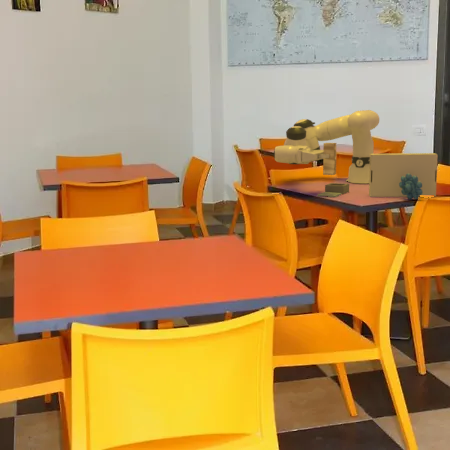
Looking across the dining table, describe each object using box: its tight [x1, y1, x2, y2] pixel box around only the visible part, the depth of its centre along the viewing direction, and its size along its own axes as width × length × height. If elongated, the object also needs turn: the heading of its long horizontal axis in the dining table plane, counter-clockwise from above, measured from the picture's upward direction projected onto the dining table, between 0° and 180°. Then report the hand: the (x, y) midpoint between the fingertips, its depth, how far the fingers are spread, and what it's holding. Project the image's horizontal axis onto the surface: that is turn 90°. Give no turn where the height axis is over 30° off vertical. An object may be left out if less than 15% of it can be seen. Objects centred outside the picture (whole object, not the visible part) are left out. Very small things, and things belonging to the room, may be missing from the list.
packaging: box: [368, 152, 439, 198], centre depth 319 cm, size 30×6×20 cm, turn 84°
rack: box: [324, 182, 350, 195], centre depth 335 cm, size 8×10×4 cm
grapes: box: [399, 173, 423, 201], centre depth 308 cm, size 12×7×12 cm, turn 48°
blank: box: [322, 142, 337, 176], centre depth 323 cm, size 4×5×15 cm
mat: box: [317, 191, 343, 198], centre depth 326 cm, size 9×9×1 cm
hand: (331, 155), depth 322 cm, fingers closed on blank, 4 cm apart
